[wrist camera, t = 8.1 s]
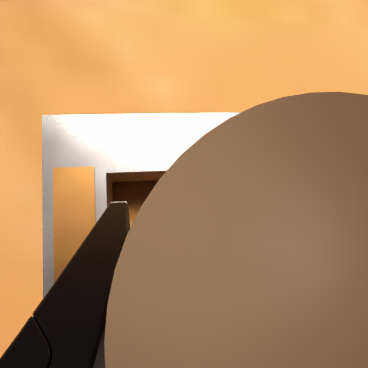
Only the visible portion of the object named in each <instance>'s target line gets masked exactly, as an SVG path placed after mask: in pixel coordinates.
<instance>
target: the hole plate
mask: <svg viewBox="0 0 368 368" xmlns="http://www.w3.org/2000/svg"><path fill="white" fill-rule="evenodd" d="M237 114H239V113H167V114H89V115H42V176H43V298H44V297H45V295H46V294H47V292H48V291H49V290H50V288H51V287H52V285H53V284H54V282H55V281H56V280H57V278H58V277H59V275H60V274H61V272H62V271H63V270H64V268H65V267H66V265H67V264H68V262H69V261H70V260H71V258H72V257H73V255H74V254H75V252H76V251H77V250H78V248H79V247H80V245H81V244H82V242H83V241H84V240H85V238H86V237H87V235H88V234H89V232H90V231H91V230H92V228H93V227H94V225H95V224H96V222H97V221H98V220H99V218H100V217H101V215H102V214H103V212H104V211H105V210H106V208H107V207H108V205H109V204H110V203H111V202H113V184H112V182H131V181H157V180H159V179H160V178H161V177H162V176H163V174H164V173H165V172H166V171H167V170H168V169H169V168H170V167H171V165H172V164H173V163H174V162H175V161H176V160H177V159H178V158H179V156H180V155H181V154H182V153H183V152H185V151H186V150H187V149H188V148H189V147H190V146H192V145H193V144H194V143H195V142H196V141H197V140H199V139H200V138H201V137H202V136H203V135H204V134H206V133H207V132H209V131H210V130H212V129H213V128H215V127H217V126H218V125H220V124H221V123H223V122H224V121H226V120H227V119H229V118H231V117H233V116H235V115H237Z"/></svg>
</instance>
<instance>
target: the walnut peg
mask: <svg viewBox="0 0 368 368" xmlns="http://www.w3.org/2000/svg"><path fill="white" fill-rule="evenodd" d="M104 348H105V368H368V95H362V94H352V93H343V92H321V93H306V94H300V95H294V96H288V97H283V98H279V99H276V100H273V101H270V102H266V103H263V104H260V105H257V106H254V107H252V108H250V109H248V110H246V111H244V112H241V113H239V114H237V115H235V116H233V117H231V118H229V119H227V120H226V121H224V122H223V123H221V124H220V125H218V126H217V127H215V128H213V129H212V130H210V131H209V132H207V133H206V134H204V135H203V136H202V137H201V138H200V139H199V140H197V141H196V142H195V143H194V144H193V145H192V146H190V147H189V148H188V149H187V150H186V151H185V152H183V153H182V154H181V155H180V156H179V158H178V159H177V160H176V161H175V162H174V163H173V164H172V165H171V167H170V168H169V169H168V170H167V171H166V172H165V173H164V174H163V176H162V177H161V178H160V179H159V181H158V182H157V184H156V185H155V187H154V188H153V190H152V191H151V192H150V194H149V195H148V197H147V198H146V200H145V201H144V203H143V204H142V206H141V208H140V210H139V212H138V214H137V216H136V218H135V220H134V222H133V224H132V226H131V228H130V230H129V232H128V234H127V236H126V239H125V242H124V245H123V247H122V250H121V253H120V256H119V259H118V262H117V265H116V268H115V271H114V276H113V280H112V285H111V290H110V295H109V299H108V304H107V315H106V327H105V340H104Z"/></svg>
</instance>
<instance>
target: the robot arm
mask: <svg viewBox="0 0 368 368" xmlns="http://www.w3.org/2000/svg"><path fill="white" fill-rule="evenodd" d="M129 230H130V223H129V209H128V203H127V202H126V201H122V202H111V203H110V204H109V205H108V207H107V208H106V210H105V211H104V212H103V214H102V215H101V217H100V218H99V220H98V221H97V222H96V224H95V225H94V227H93V228H92V230H91V231H90V232H89V234H88V235H87V237H86V238H85V240H84V241H83V242H82V244H81V245H80V247H79V248H78V250H77V251H76V252H75V254H74V255H73V257H72V258H71V260H70V261H69V262H68V264H67V265H66V267H65V268H64V270H63V271H62V272H61V274H60V275H59V277H58V278H57V280H56V281H55V282H54V284H53V285H52V287H51V288H50V290H49V291H48V292H47V294H46V295H45V297H44V298H43V300H42V301H41V302H40V304H39V305H38V307H37V308H36V310H35V311H34V312H33V316H34V317H33V316H31V317H30V318H29V319H28V321H27V322H26V324H25V325H24V326H23V328H22V329H21V331H20V332H19V334H18V335H17V336H16V338H15V339H14V340H13V342H12V343H11V344H10V346H9V347H8V349H7V350H6V351H5V353H4V354H3V355H2V357H1V358H0V368H105V348H104V340H105V327H106V315H107V304H108V299H109V295H110V290H111V285H112V280H113V276H114V271H115V268H116V265H117V262H118V259H119V256H120V253H121V250H122V247H123V245H124V242H125V239H126V236H127V234H128V232H129Z"/></svg>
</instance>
